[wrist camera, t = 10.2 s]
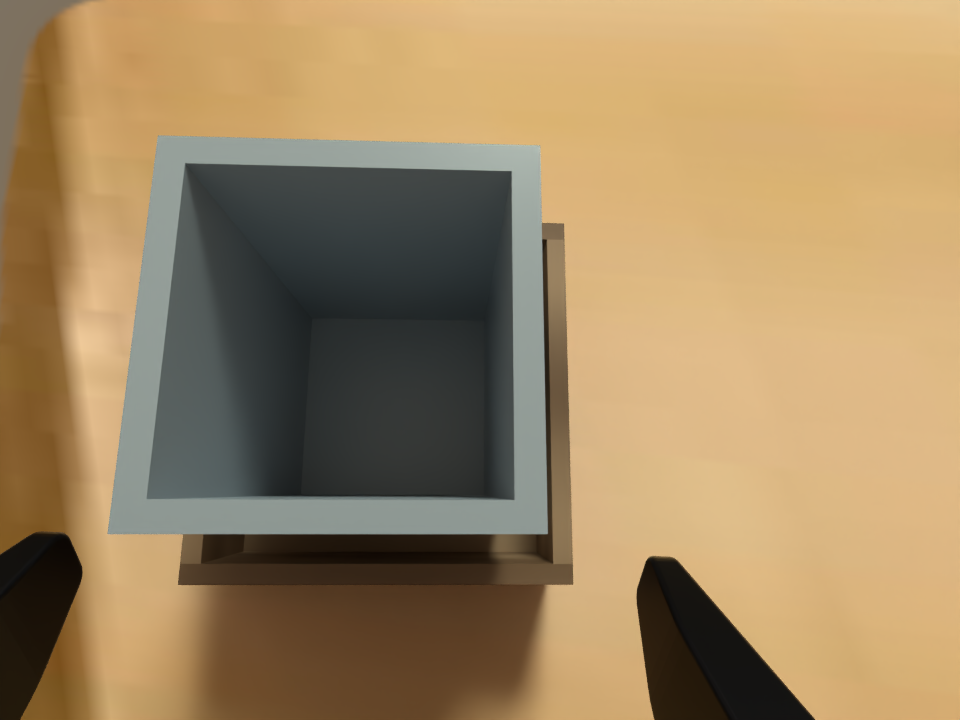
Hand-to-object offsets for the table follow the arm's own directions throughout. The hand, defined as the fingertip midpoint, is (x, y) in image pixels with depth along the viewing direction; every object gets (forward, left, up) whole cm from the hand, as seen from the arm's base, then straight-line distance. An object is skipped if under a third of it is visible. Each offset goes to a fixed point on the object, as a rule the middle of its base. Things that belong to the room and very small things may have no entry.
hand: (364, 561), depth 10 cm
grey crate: (+4, +1, -9) cm, 10 cm away
